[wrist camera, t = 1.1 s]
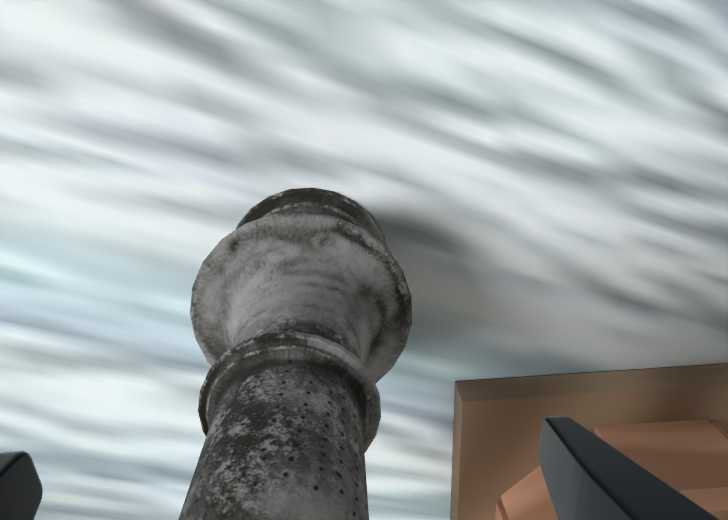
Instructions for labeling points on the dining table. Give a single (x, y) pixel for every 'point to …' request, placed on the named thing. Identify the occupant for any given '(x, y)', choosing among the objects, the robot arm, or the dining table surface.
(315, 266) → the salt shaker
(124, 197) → the dining table surface
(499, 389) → the collar board
